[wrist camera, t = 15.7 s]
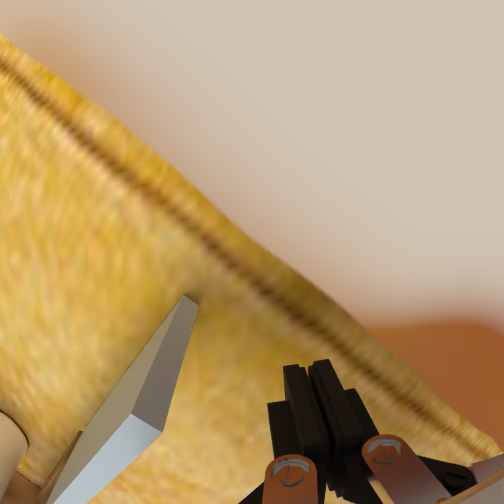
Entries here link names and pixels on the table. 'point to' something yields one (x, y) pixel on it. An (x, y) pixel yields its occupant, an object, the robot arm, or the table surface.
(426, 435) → the table surface
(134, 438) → the thin blue-gray plank
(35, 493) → the u-shaped wooden frame
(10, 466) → the drinking glass
